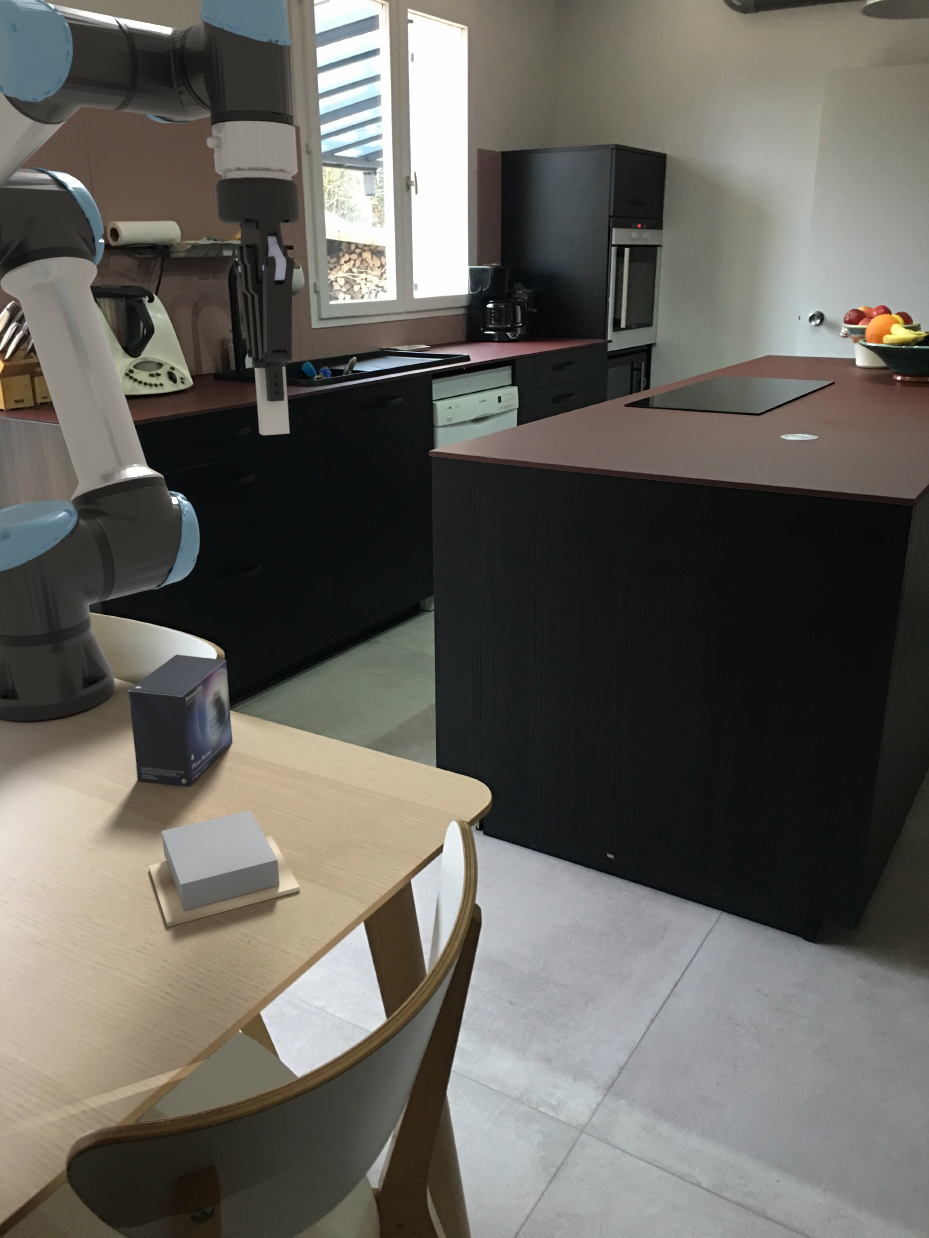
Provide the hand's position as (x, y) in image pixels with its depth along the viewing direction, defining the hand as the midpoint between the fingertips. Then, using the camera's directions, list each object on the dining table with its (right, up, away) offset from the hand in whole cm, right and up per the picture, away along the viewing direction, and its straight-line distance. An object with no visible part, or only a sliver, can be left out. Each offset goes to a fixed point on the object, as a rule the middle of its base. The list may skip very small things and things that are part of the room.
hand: (274, 433), depth 98 cm
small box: (-11, -35, +7) cm, 37 cm away
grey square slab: (-4, -38, -10) cm, 40 cm away
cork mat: (-2, -41, -14) cm, 44 cm away
